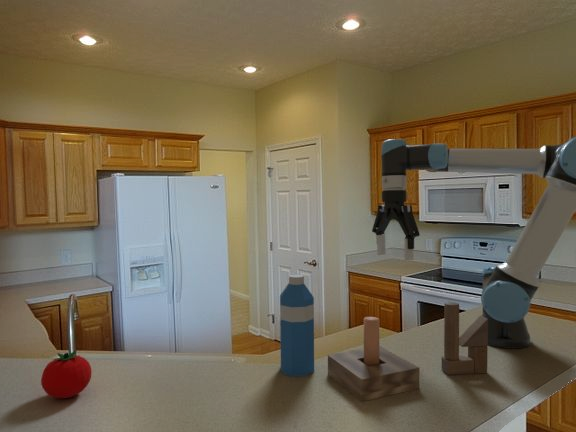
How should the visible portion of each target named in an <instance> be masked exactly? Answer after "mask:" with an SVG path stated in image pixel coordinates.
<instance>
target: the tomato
mask: <svg viewBox="0 0 576 432" xmlns="http://www.w3.org/2000/svg"><path fill="white" fill-rule="evenodd" d="M76 353H77V350H74V351H73V352H71V353H69V352H65V353H63V354H62V353H59V352H57V355H58V357H56V358H54V359H52V360H51V361H49V362H48V363H47V364H46V366H45V368H44V369H43V371H42V374H41V379H40V384H41V388H42V389H43V391H44V392H45V393H46V395H48V396H50V397H52V398H54V399H55V398H56V399H69V398H72V397H75V396H76V395H78V394H80V393H82V391H84V390H85V389H86V388H87V386H88V385H89V383H90V382H91V379H92V373H93V371H92V366H91V364H90V362H89V361H88V360H87V359H86V358H85V357H83V356H81V354H80V355H76Z"/></svg>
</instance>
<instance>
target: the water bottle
mask: <svg viewBox="0 0 576 432" xmlns="http://www.w3.org/2000/svg"><path fill="white" fill-rule="evenodd" d="M314 298H315V297H314V296H313V294H312V293H311V291H310V290H309V288H308V287H307V285H306V284H305V276H304V275H303V274H290V275H288V284H287V285H286V286H285V288H284V289H283V291H281V293H280V295H279V313H280V314H279V318H280V320H279V321H280V322H279V326H280V327H279V329H280V372H281V373H282V374H283V375H287V376H290V377H306V376H308V375H310V374H312V373H314V372H315V310H314V309H315V308H314V306H315V305H314V304H315V300H314Z"/></svg>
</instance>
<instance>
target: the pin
mask: <svg viewBox="0 0 576 432" xmlns="http://www.w3.org/2000/svg"><path fill="white" fill-rule="evenodd" d="M379 346H380V318H378V317H374V316H365V317H364V318H363V349H364V364H366V365H367V366H374V365H379Z"/></svg>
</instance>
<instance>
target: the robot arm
mask: <svg viewBox="0 0 576 432" xmlns="http://www.w3.org/2000/svg"><path fill="white" fill-rule="evenodd" d="M407 144H408V143H407V141H406V139H403V138H398V139H396V138H394V139H393V138H392V139H386V140H384V141H383V142H382V144H381V155H380V157H381V189H382V191H381V202H382V203H384V204H379V205H377V212H376V215H375V219H374V222H373V225H372V230H371V232H372V233H374V234H375V235H376V245H377V246H376V248H377V249H376V250H377V251H376V254H377V256H383V255H386V234H385V232H386V230H387V228H388V226H389V224H390V222H391V221H392V220H396V222H398V224H399V226H400V228H401V230H402V231H403V233H404V236H405V237H404V239H403V240H404V242H403V243H404V245H403V246H404V256H403V257H404V258H403V259H404V261H411V260H412V261H413V260H414V249H415V239H416V238H417V237H419V236H421V235H420V231H419V227H418V225H417V223H416V219H415V216H414V213H413V206H412V205H411V204H408V205H407V204H405V203H406V202H407V201H408V199H407V196H408V195H407V191H406V189H407V187H408V186H407V171H414V170H417V171H419V170H425V171H426V172H429V173H436V172H438V173H441V172H443V173H444V172H445V173H474V174H475V173H478V174H481V173H482V174H483V173H484V174H512V175H513V174H515V175H516V174H517V175H518V174H519V175H520V174H521V175H537V176H539V178H542V179H545V180H546V183H547V186H546V188H545V190H544V192H543V193H542V195H541V197H540V198H539V201H538V203H537V204H536V205H535V208H534V209H533V211H532V213H531V215H530V217H529V219H528V221H527V222H526V224H525V226H524V228H523V229H522V230H521V231H522V232H521V233H520V235H519V237H518V238H517V240H516V242H515V244H514V245H513V248H512V249H511V251H510V253H509V255H508V257H507V259H505V262H503V263H499V264H496V266H495V267H494V266H493V267H492V266H487V267H484V268H483V270H482V274H481V275H482V276H481V277H482V290H481V291H482V292H481V297H480V300H481V301H480V302H481V304H482V312H481V313H482V314H481V316H483V317H485V318H487V319H488V346H489V345H490V346H494V347H497V348H506V349H524V348H527V347H529V346H530V345H531V336H530V333H529V330H528V326H527V324H526V320H525V316H526V315H527V314H528V313H529V311H530V308H531V301H532V299H533V298H534V296H535V294H536V292H537V291H538V289H539V288H540V283H539V279H538V276H539V275H540V272H541V270H542V269H543V267H545V264H546V262H547V260H548V259H549V257H550V255H551V253H553V251H554V249H555V246H556V245H557V243H558V242H559V240H560V238H561V237H562V235H563V233H564V231H565V229H566V228H567V226H568V225H569V222H571V219H572V218H573V215H574V214H575V212H576V136H575V137H574V136H573V137H572V138H570V139H568V140H567V141H566V142H564V143H560V144H553V145H552V144H550V145H549V144H546V145H542V146H541V147H540V148H448V146H447V143H436V142H434V143H427V144H426V143H425V144H415V145H412V144H411V145H409V144H408V145H407Z"/></svg>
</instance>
